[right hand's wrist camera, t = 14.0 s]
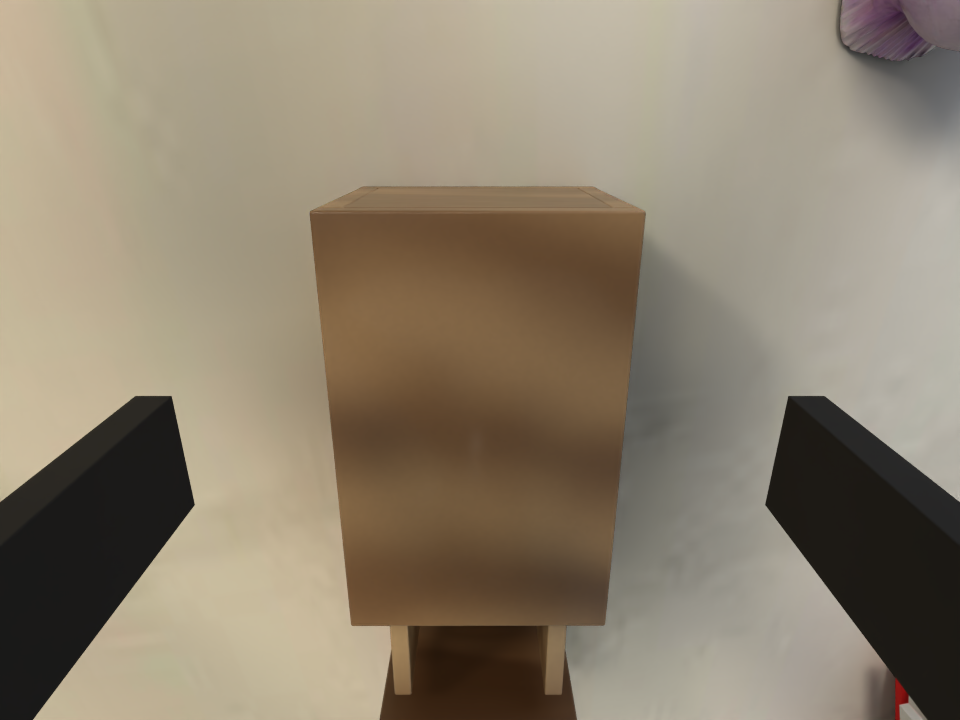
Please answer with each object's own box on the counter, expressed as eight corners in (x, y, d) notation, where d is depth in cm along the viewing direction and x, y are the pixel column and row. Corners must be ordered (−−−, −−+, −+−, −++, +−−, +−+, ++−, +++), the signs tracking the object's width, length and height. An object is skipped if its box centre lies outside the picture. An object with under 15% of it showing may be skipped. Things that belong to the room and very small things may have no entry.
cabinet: (572, 499, 32) (605, 626, 24) (383, 500, 32) (350, 626, 24) (593, 186, 26) (646, 210, 18) (361, 186, 26) (308, 210, 18)
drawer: (552, 695, 36) (569, 819, 30) (403, 696, 36) (387, 820, 30) (572, 378, 29) (599, 451, 22) (383, 379, 29) (355, 451, 22)
